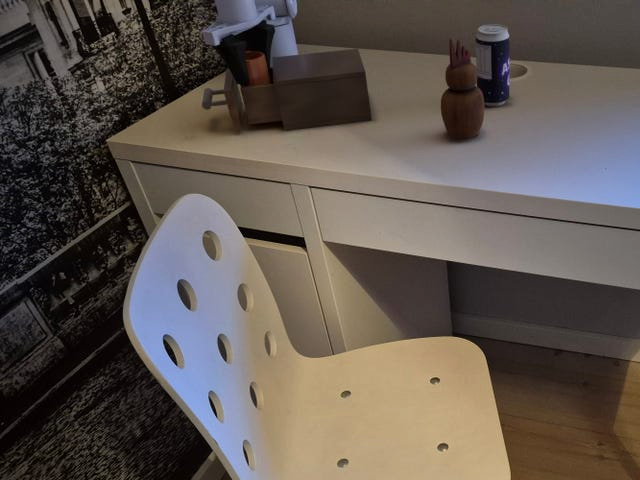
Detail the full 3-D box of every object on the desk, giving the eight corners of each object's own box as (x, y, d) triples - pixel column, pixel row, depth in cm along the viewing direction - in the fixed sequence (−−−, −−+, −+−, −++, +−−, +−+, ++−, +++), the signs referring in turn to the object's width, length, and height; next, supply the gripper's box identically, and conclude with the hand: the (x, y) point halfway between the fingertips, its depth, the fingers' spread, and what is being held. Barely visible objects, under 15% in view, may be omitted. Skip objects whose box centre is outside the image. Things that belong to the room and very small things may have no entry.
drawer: (207, 132, 109) (195, 94, 104) (211, 108, 116) (200, 71, 112) (317, 120, 111) (309, 81, 107) (314, 97, 119) (306, 60, 115)
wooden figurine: (450, 146, 105) (445, 45, 95) (437, 132, 109) (431, 34, 99) (490, 137, 107) (488, 38, 97) (475, 124, 111) (473, 27, 101)
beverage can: (506, 108, 115) (506, 34, 107) (474, 107, 116) (472, 33, 108) (511, 96, 119) (512, 24, 111) (480, 94, 120) (479, 22, 112)
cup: (273, 81, 112) (266, 50, 109) (268, 92, 109) (260, 60, 105) (245, 82, 112) (237, 51, 109) (238, 93, 109) (230, 61, 105)
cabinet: (284, 130, 111) (273, 81, 105) (282, 104, 119) (272, 57, 114) (372, 120, 113) (365, 71, 107) (364, 95, 121) (358, 48, 116)
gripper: (241, -28, 107) (262, 61, 116) (176, -4, 97) (204, 90, 106) (277, -24, 104) (295, 66, 113) (213, 0, 95) (239, 96, 104)
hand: (254, 78), depth 110 cm, fingers closed on cup, 5 cm apart
